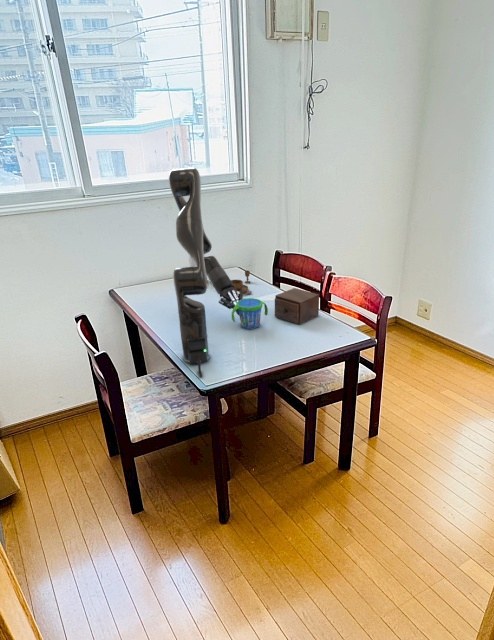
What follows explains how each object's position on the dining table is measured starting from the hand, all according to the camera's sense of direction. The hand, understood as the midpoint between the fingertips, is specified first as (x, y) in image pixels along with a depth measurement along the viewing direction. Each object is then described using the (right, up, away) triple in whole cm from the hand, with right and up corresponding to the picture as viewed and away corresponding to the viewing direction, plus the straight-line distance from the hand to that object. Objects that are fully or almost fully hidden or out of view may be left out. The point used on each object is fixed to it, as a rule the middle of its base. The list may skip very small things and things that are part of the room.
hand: (242, 314), depth 206 cm
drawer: (+22, 0, +5) cm, 22 cm away
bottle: (-25, +26, +51) cm, 62 cm away
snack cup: (+3, -5, -1) cm, 6 cm away
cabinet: (+23, +1, +7) cm, 25 cm away
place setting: (-2, +19, +39) cm, 43 cm away
